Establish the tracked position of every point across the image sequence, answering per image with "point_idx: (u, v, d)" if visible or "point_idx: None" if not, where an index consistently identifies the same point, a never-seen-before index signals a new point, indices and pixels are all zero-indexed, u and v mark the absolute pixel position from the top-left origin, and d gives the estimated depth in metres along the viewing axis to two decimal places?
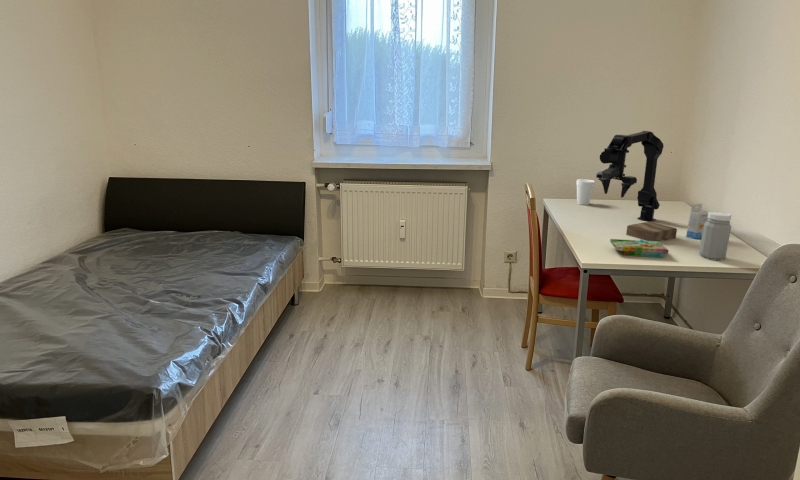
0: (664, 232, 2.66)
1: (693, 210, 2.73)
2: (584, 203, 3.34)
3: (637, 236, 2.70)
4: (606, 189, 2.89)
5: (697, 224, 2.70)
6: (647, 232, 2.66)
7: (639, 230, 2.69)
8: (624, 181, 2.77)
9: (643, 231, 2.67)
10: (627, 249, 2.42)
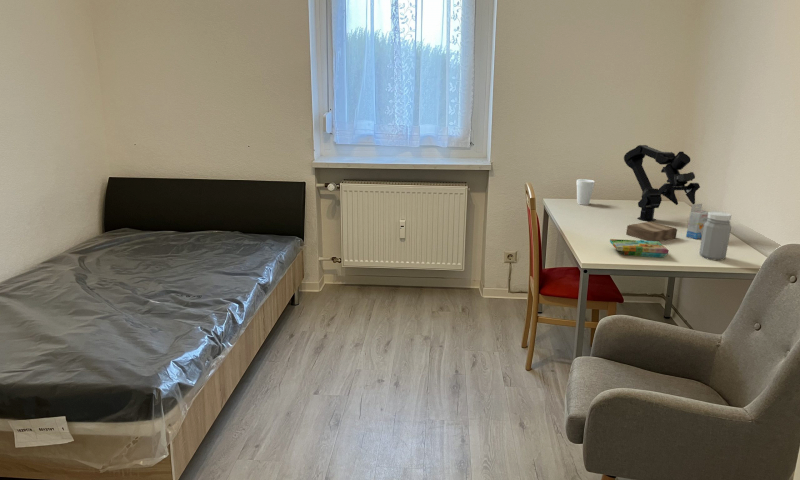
0: (664, 232, 2.66)
1: (693, 210, 2.73)
2: (584, 203, 3.34)
3: (637, 236, 2.70)
4: None
5: (697, 224, 2.70)
6: (647, 232, 2.66)
7: (639, 230, 2.69)
8: (696, 185, 2.81)
9: (643, 231, 2.67)
10: (627, 249, 2.42)
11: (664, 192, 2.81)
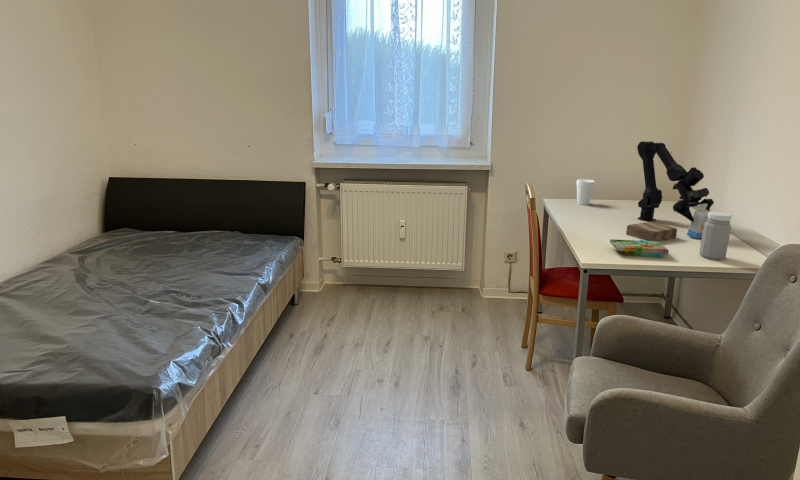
0: (664, 232, 2.66)
1: (698, 210, 2.71)
2: (584, 203, 3.34)
3: (637, 236, 2.70)
4: None
5: (699, 225, 2.69)
6: (646, 232, 2.66)
7: (639, 230, 2.69)
8: (710, 201, 2.76)
9: (642, 231, 2.67)
10: (627, 249, 2.42)
11: (679, 209, 2.74)
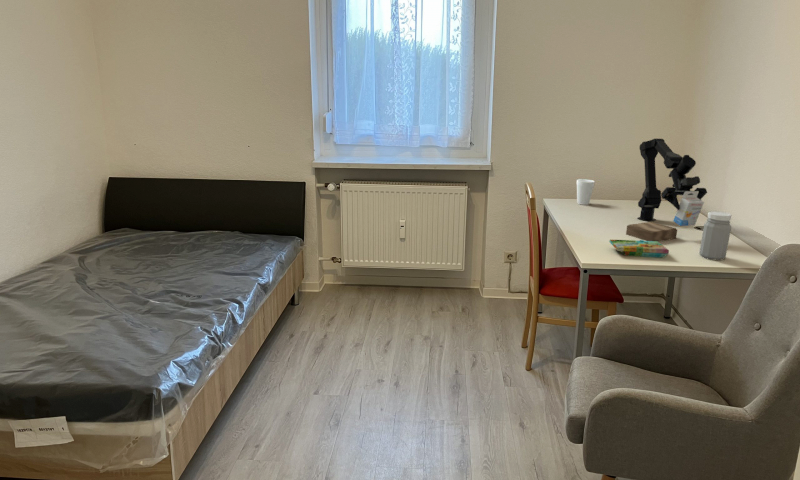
0: (663, 232, 2.66)
1: (685, 197, 2.67)
2: (584, 203, 3.34)
3: (636, 236, 2.71)
4: None
5: (684, 212, 2.66)
6: (646, 232, 2.66)
7: (638, 230, 2.69)
8: (702, 190, 2.70)
9: (642, 231, 2.68)
10: (628, 249, 2.41)
11: (666, 196, 2.72)
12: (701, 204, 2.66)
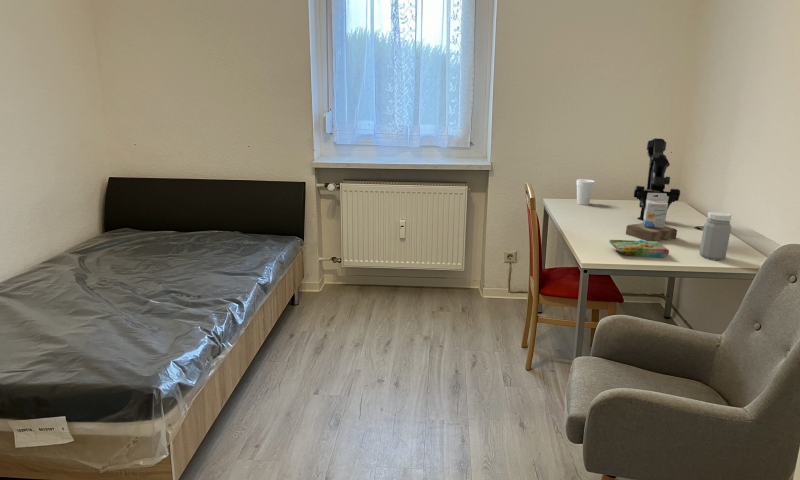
0: (663, 232, 2.66)
1: (651, 198, 2.70)
2: (584, 203, 3.34)
3: (636, 236, 2.71)
4: (645, 203, 2.71)
5: (646, 213, 2.69)
6: (645, 232, 2.66)
7: (638, 230, 2.70)
8: (674, 191, 2.68)
9: (641, 231, 2.68)
10: (628, 250, 2.41)
11: (637, 195, 2.75)
12: (665, 206, 2.65)
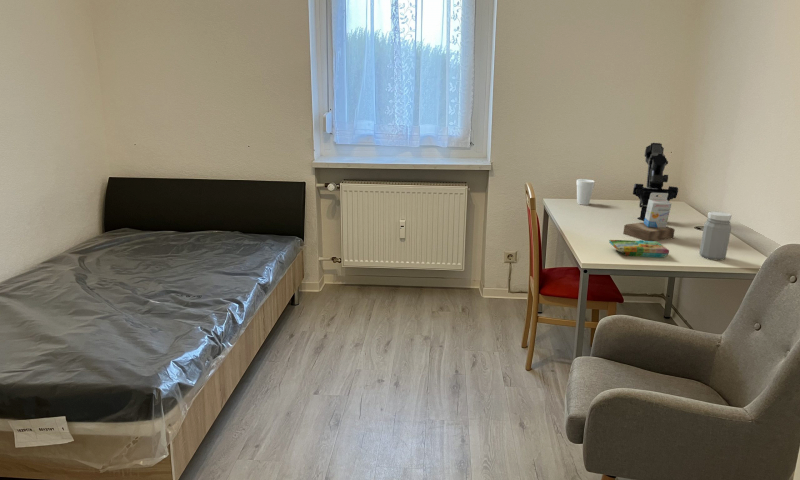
0: (660, 232, 2.67)
1: (653, 198, 2.70)
2: (584, 203, 3.34)
3: (633, 235, 2.71)
4: (643, 201, 2.78)
5: (650, 213, 2.69)
6: (643, 232, 2.66)
7: (635, 229, 2.70)
8: (672, 188, 2.75)
9: (639, 230, 2.68)
10: (628, 250, 2.41)
11: (636, 192, 2.82)
12: (668, 205, 2.67)
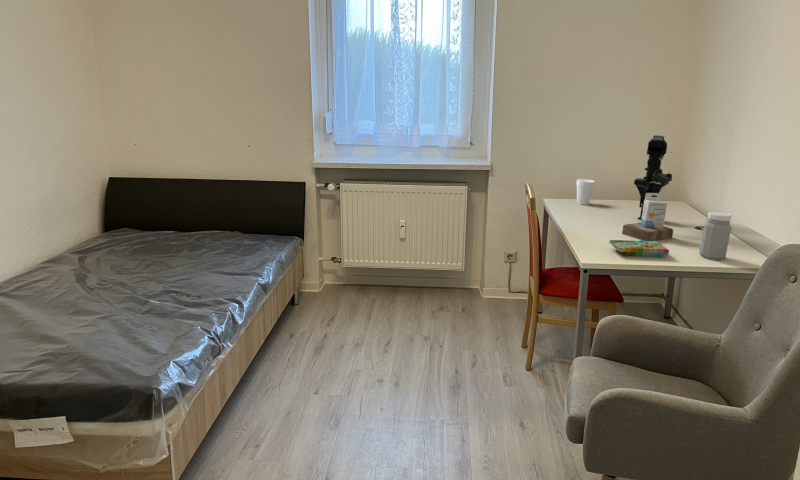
0: (659, 232, 2.67)
1: (649, 198, 2.72)
2: (584, 203, 3.34)
3: (632, 236, 2.71)
4: None
5: (646, 212, 2.70)
6: (641, 232, 2.66)
7: (634, 230, 2.70)
8: None
9: (638, 231, 2.68)
10: (628, 250, 2.41)
11: (638, 185, 2.84)
12: (664, 205, 2.68)
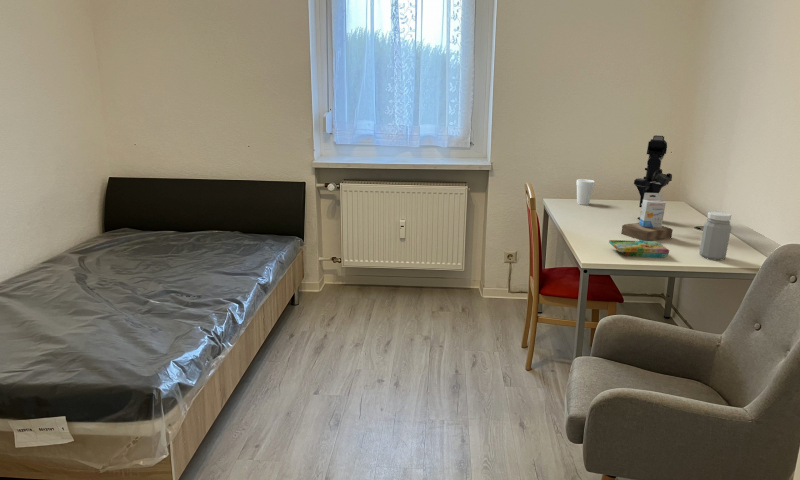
0: (658, 232, 2.66)
1: (647, 198, 2.72)
2: (584, 203, 3.34)
3: (631, 236, 2.71)
4: None
5: (645, 212, 2.69)
6: (640, 232, 2.66)
7: (633, 230, 2.70)
8: None
9: (637, 231, 2.68)
10: (629, 250, 2.41)
11: (638, 185, 2.84)
12: (663, 205, 2.68)
